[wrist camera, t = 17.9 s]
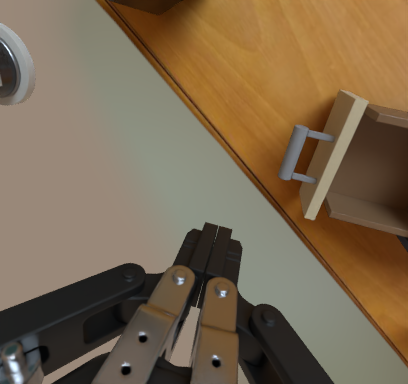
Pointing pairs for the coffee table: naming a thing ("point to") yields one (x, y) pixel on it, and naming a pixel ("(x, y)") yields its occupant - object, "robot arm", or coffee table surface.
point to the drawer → (355, 165)
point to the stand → (149, 5)
